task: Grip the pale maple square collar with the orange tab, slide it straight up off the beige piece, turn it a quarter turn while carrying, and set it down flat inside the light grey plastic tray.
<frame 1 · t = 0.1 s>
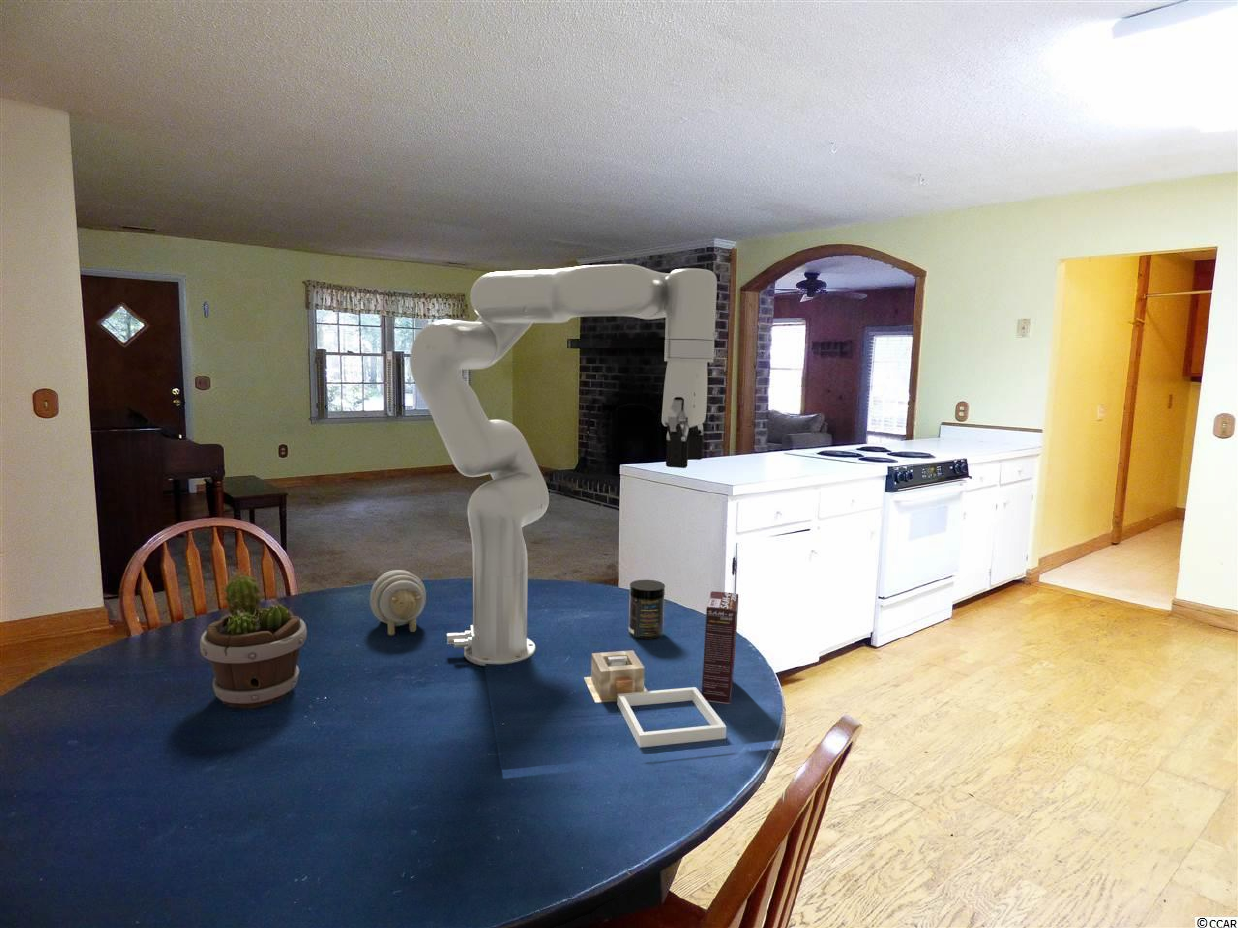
hand: (684, 462, 115), 37 cm above the table, tool pointing down, fingers open, 9 cm apart
supplement box: (717, 695, 118), on the table
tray: (669, 725, 108), on the table
collar: (616, 686, 118), point 1 cm above the table, touching beige piece
supplement container: (645, 637, 141), on the table
beige piece: (616, 691, 118), on the table
toy sheep: (399, 626, 144), on the table
flowerpot: (257, 695, 114), on the table
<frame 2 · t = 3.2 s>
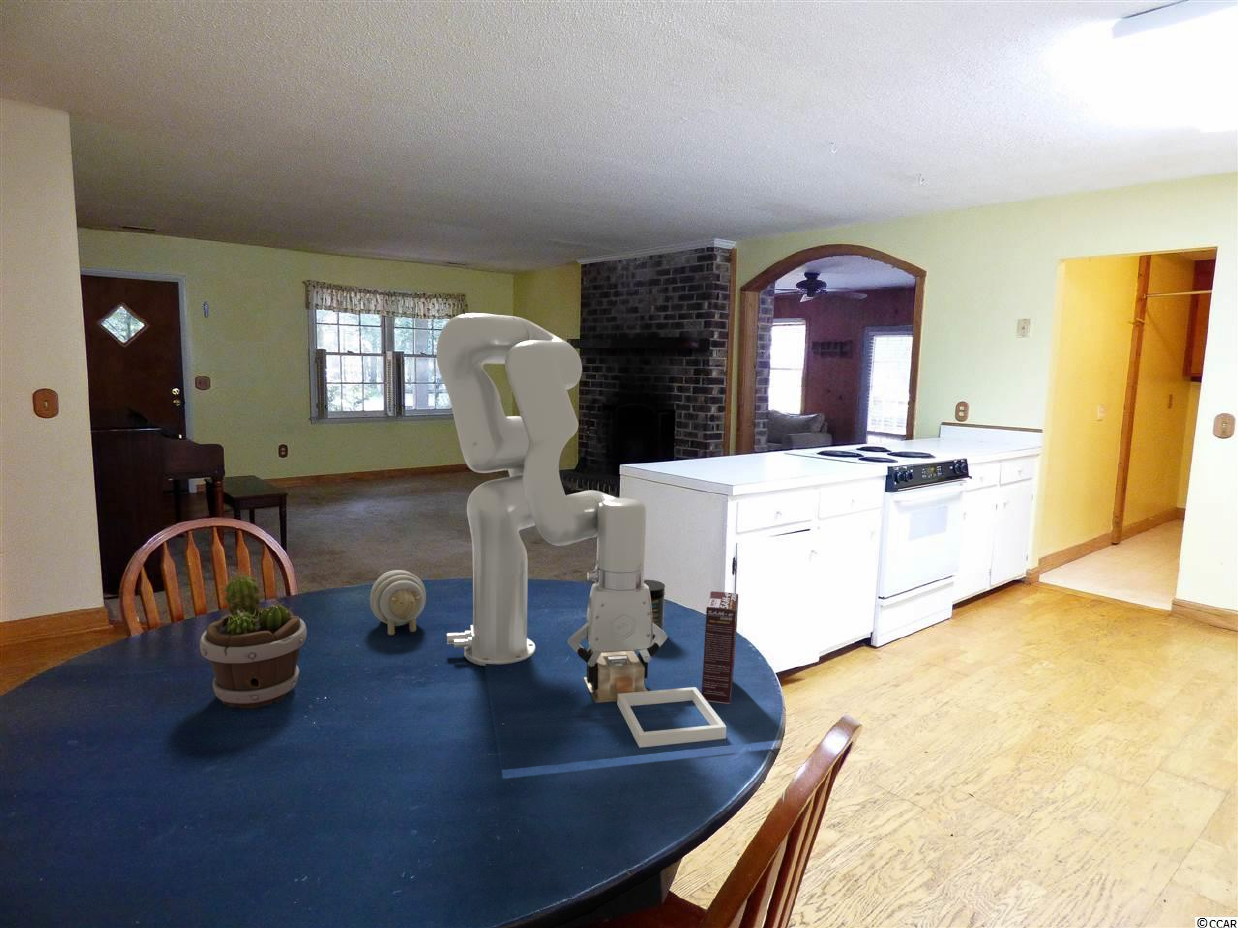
hand: (616, 683, 118), 1 cm above the table, tool pointing down, fingers closed on collar, 7 cm apart
collar: (616, 686, 118), point 1 cm above the table, touching gripper, beige piece
everything else where it was.
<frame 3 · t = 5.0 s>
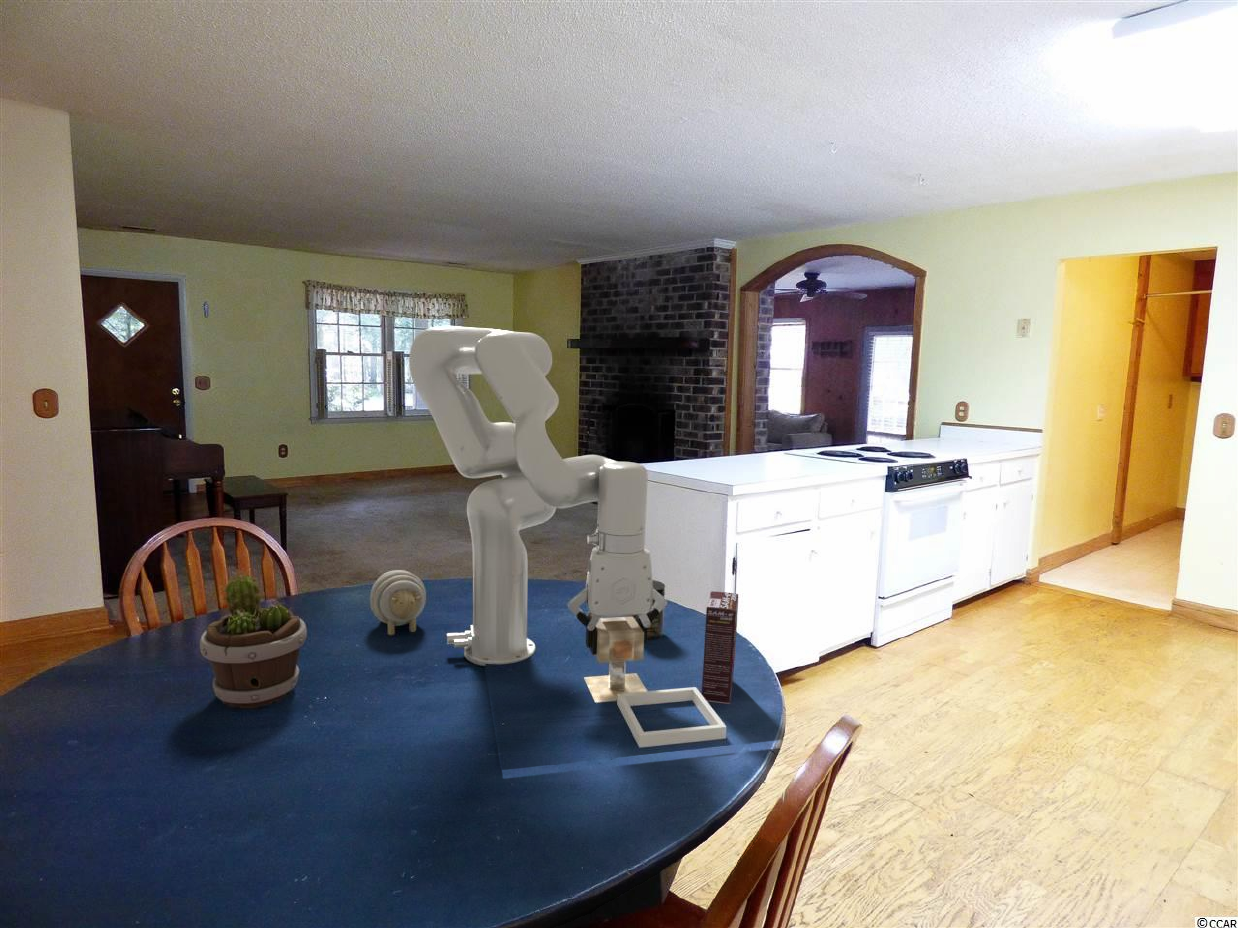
hand: (616, 648, 117), 7 cm above the table, tool pointing down, fingers closed on collar, 7 cm apart
collar: (615, 652, 117), point 7 cm above the table, touching gripper
everything else where it was.
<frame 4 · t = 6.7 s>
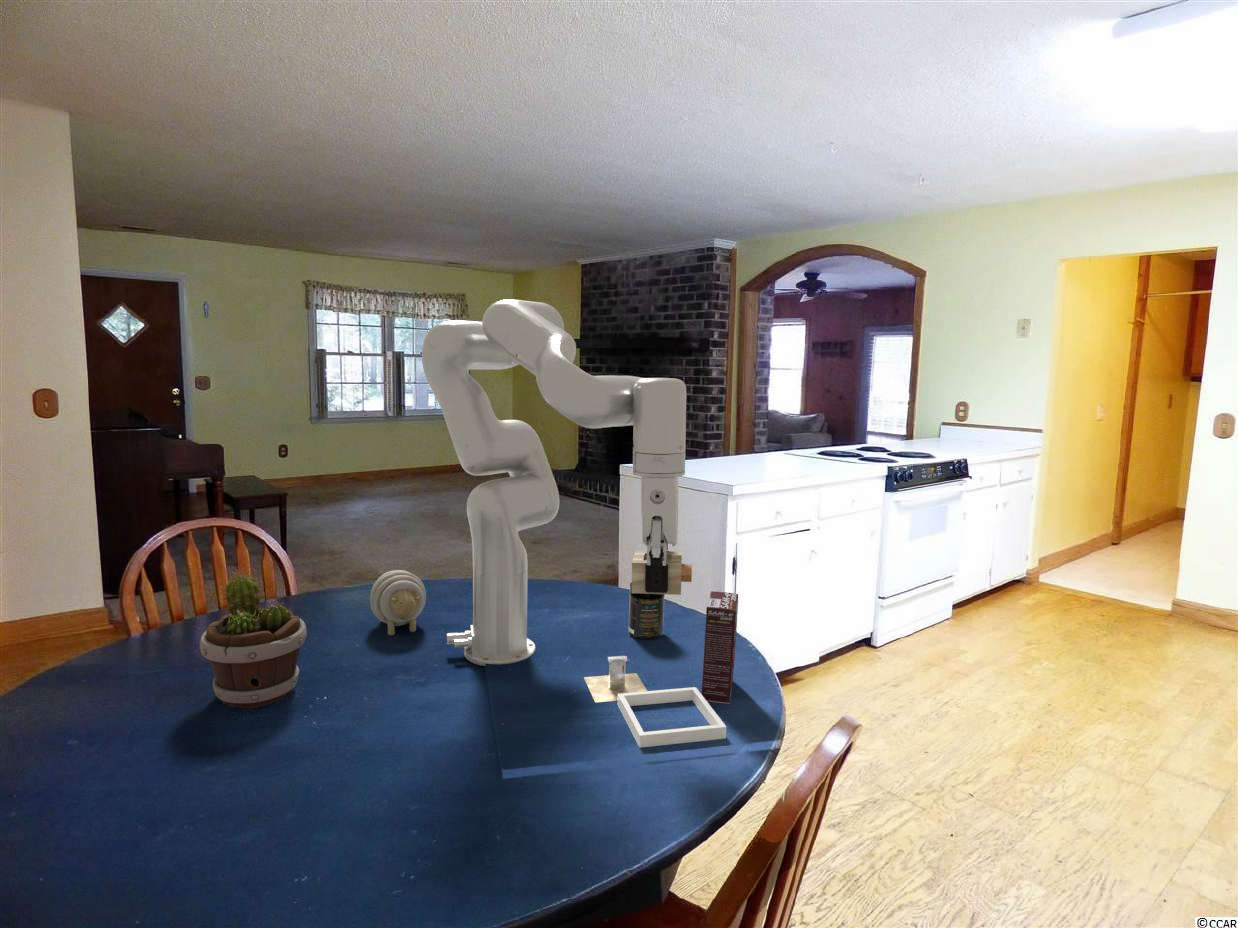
hand: (657, 583, 108), 21 cm above the table, tool pointing down, fingers closed on collar, 7 cm apart
collar: (657, 586, 108), point 20 cm above the table, touching gripper
everything else where it was.
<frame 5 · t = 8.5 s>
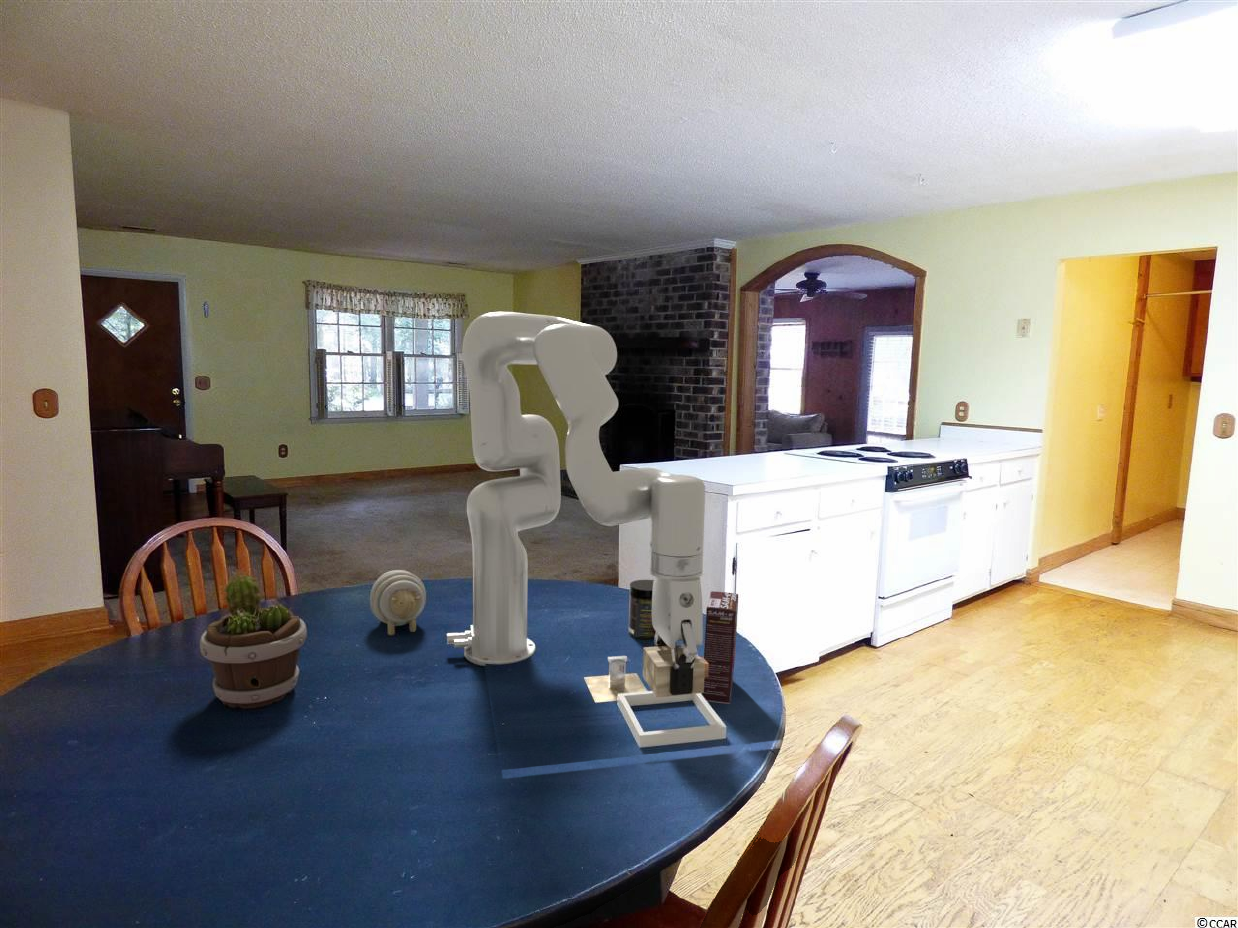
hand: (672, 680, 107), 7 cm above the table, tool pointing down, fingers closed on collar, 7 cm apart
collar: (672, 684, 107), point 6 cm above the table, touching gripper
everything else where it was.
when the fingers open (3 cm above the table, at t = 10.0 s): collar drops 2 cm, resting on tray.
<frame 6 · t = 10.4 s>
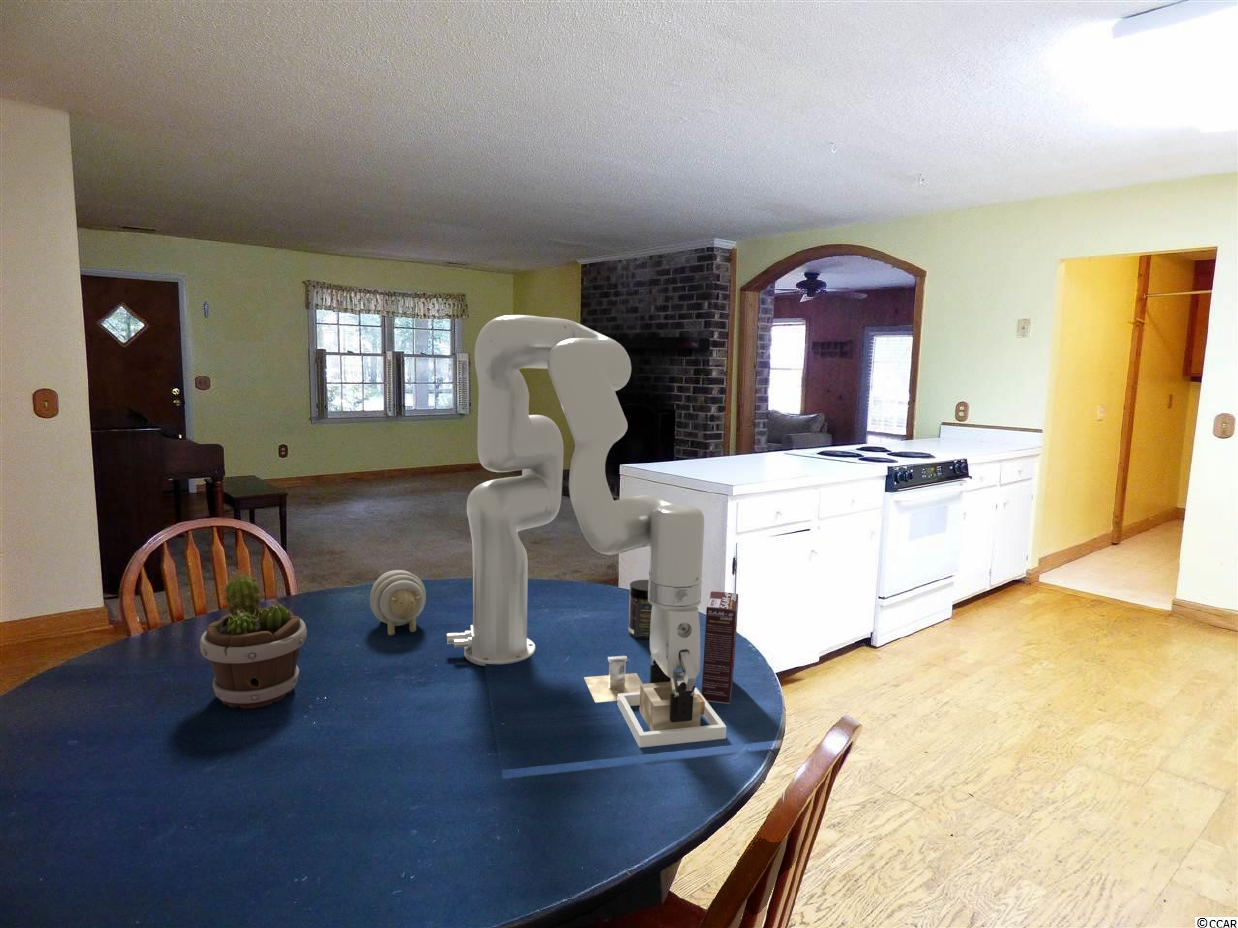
hand: (670, 704, 107), 3 cm above the table, tool pointing down, fingers open, 9 cm apart
collar: (668, 721, 108), point 1 cm above the table, touching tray
everything else where it was.
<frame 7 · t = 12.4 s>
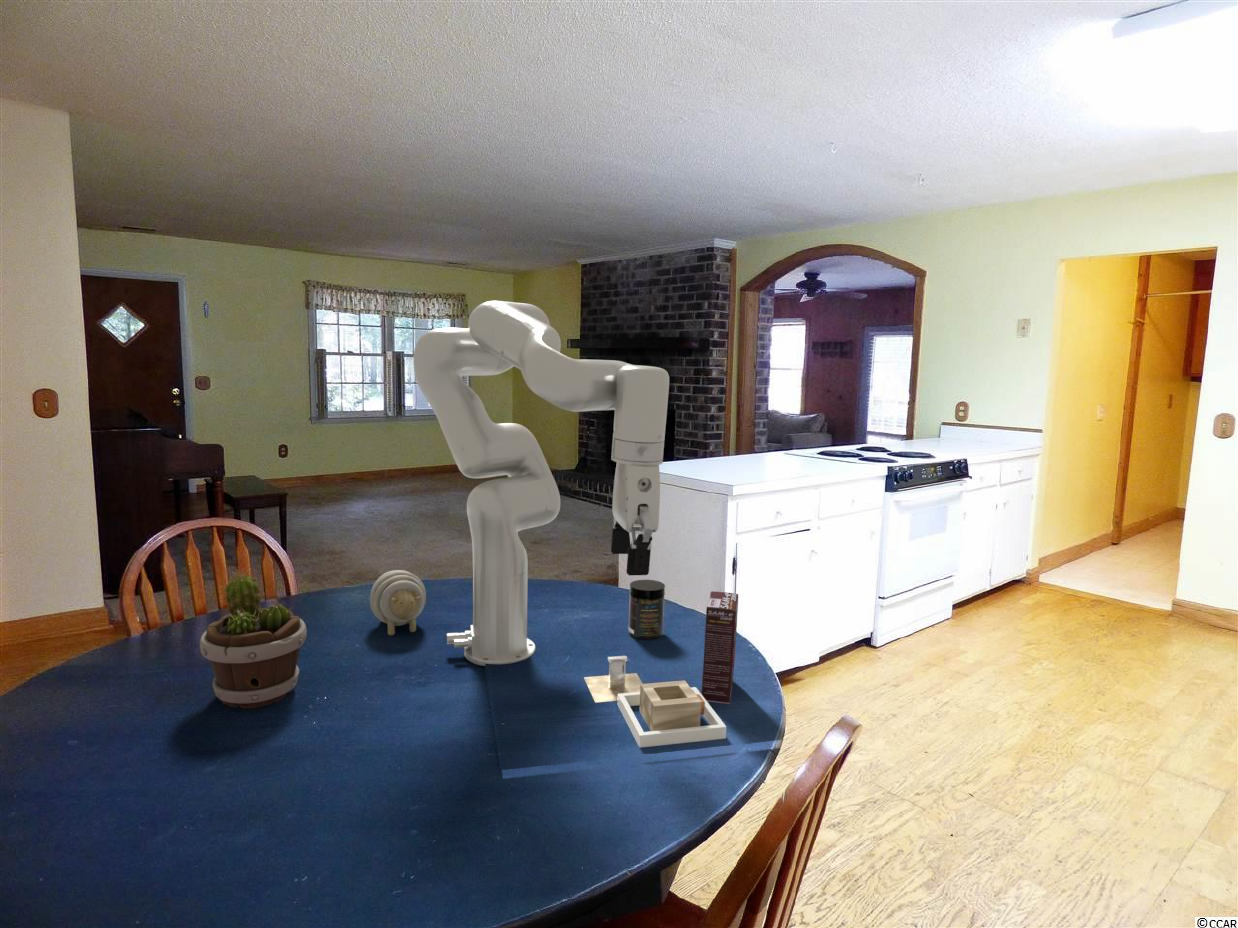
hand: (628, 563, 110), 23 cm above the table, tool pointing down, fingers open, 9 cm apart
nothing on the table moved.
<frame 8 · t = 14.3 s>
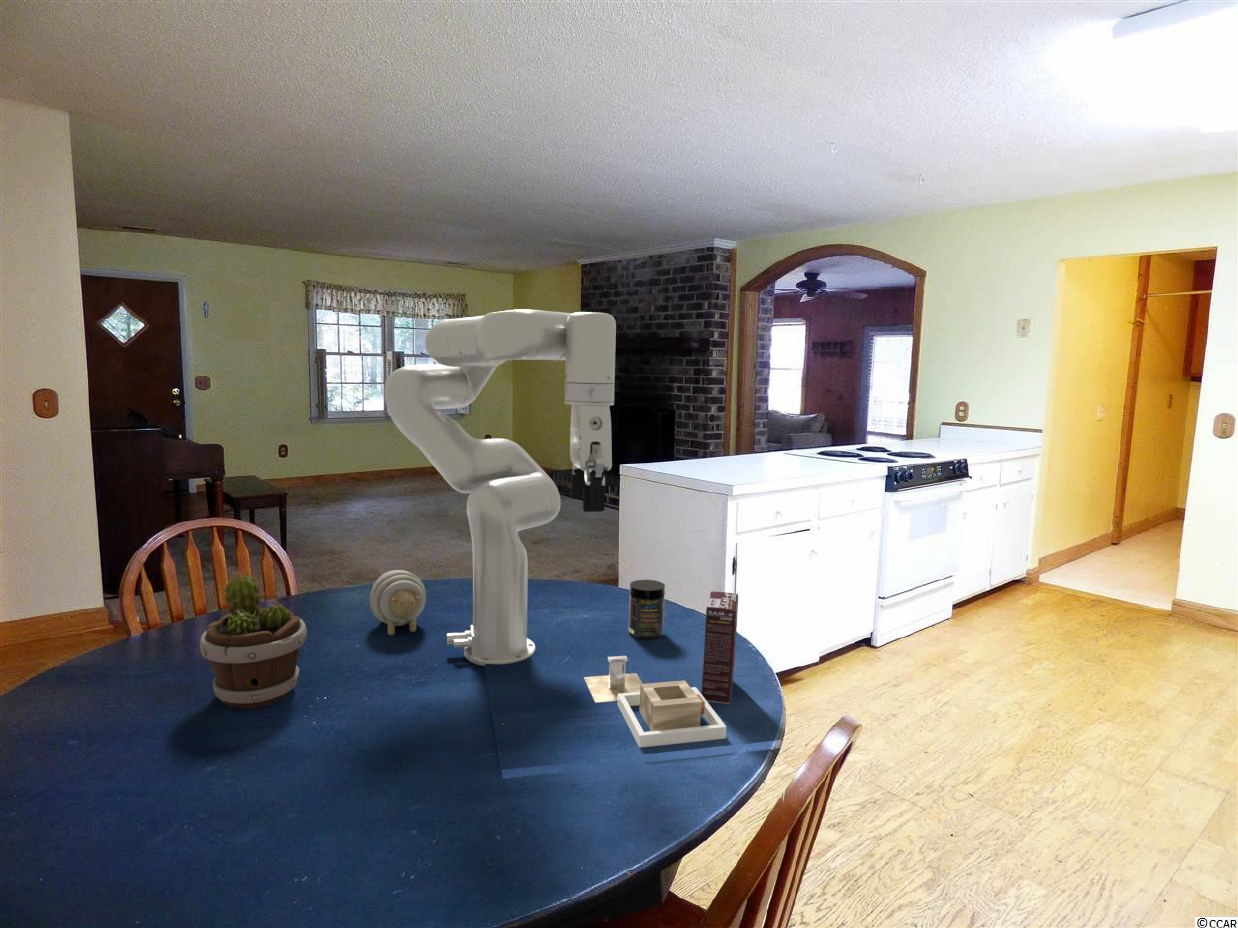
hand: (587, 504, 115), 30 cm above the table, tool pointing down, fingers open, 9 cm apart
nothing on the table moved.
at the end: collar 0.1 cm off-centre on the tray, point 0.6 cm above the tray's base; collar tilted 0°; the gripper is holding nothing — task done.
